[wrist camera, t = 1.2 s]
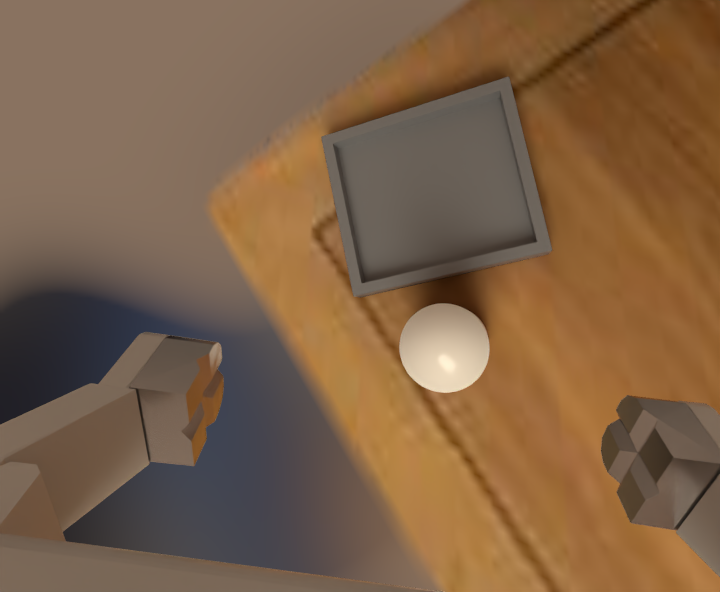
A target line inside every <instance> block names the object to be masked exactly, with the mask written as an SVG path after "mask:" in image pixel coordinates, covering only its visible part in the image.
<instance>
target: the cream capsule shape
mask: <svg viewBox="0 0 720 592" xmlns="http://www.w3.org/2000/svg"><path fill="white" fill-rule="evenodd" d="M400 356H401V360H402V363H403V365H404V367H405V369H406V371H407V372H408V374H409V375H410V376H411V377H412V378H413V379H414V380H415V381H416V382H417V383H418V384H420V385H421V386H423V387H425V388H427V389H429V390H432V391H436V392H445V393H448V392H455V391H459V390H462V389H464V388H466V387H468V386H470V385H471V384H472V383H474V382H475V381H476V380H477V379H478V378H479V377H480V375H481V374H482V373H483V371H484V369H485V367H486V365H487V362H488V358H489V340H488V334H487V331H486V328H485V326H484V324H483V323H482V321H481V320H480V319H479V318H478V317H477V316H476V315H475V314H473V313H472V312H470V311H468V310H466V309H464V308H462V307H460V306H457V305H453V304H447V303H440V304H433V305H430V306H427V307H425V308H423V309H421V310H419V311H418V312H416V313H415V314H414V315H413V316H412V317H411V318H410V319H409V320H408V322H407V323H406V325H405V327H404V329H403V331H402V334H401V338H400Z"/></svg>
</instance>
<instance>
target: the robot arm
mask: <svg viewBox="0 0 720 592" xmlns="http://www.w3.org/2000/svg"><path fill="white" fill-rule="evenodd" d="M221 360H222V352H221V345H220V344H219V343H218V342H211V341H204V340H198V339H192V338H185V337H179V336H172V335H170V336H168V335H162V334H156V333H149V332H145V333H142V334H140V335H138V337H137V338H136V339H135V340H134V341H133V343H132V344H131V345H130V346H129V348H128V349H127V350H126V351H125V352H124V354H123V355H122V356H121V357H120V359H119V360H118V361H117V362H116V363H115V365H114V366H113V367H112V368H111V370H110V371H109V372H108V373H107V374H106V375H105V377H104V378H103V379H102V380H101V382H100V383H99V384H88V385H86V386H84V387H82V388H79V389H77V390H75V391H73V392H71V393H68V394H66V395H64V396H62V397H60V398H58V399H55V400H53V401H51V402H49V403H47V404H45V405H42V406H40V407H38V408H36V409H34V410H32V411H29V412H27V413H25V414H23V415H21V416H19V417H16V418H14V419H12V420H10V421H8V422H5V423H3V424H1V425H0V592H442V591H434V590H427V589H419V588H411V587H404V586H396V585H389V584H381V583H373V582H367V581H359V580H352V579H344V578H337V577H329V576H321V575H314V574H306V573H299V572H291V571H284V570H276V569H268V568H261V567H253V566H246V565H239V564H231V563H223V562H215V561H208V560H200V559H193V558H186V557H178V556H170V555H163V554H156V553H148V552H140V551H132V550H125V549H118V548H110V547H103V546H95V545H88V544H80V543H73V542H66V540H65V538H64V535H63V531H64V530H65V529H67V528H68V527H69V526H70V525H72V524H73V523H74V522H75V521H77V520H78V519H79V518H81V517H82V516H83V515H84V514H86V513H87V512H88V511H90V510H91V509H92V508H93V507H95V506H96V505H97V504H99V503H100V502H101V501H102V500H104V499H105V498H106V497H107V496H109V495H110V494H111V493H113V492H114V491H115V490H117V489H118V488H119V487H120V486H122V485H123V484H124V483H126V482H127V481H128V480H129V479H131V478H132V477H133V476H134V475H136V474H137V473H138V472H139V471H141V470H142V469H143V468H145V467H146V466H147V465H148V464H149V461H151V462H161V463H171V464H180V465H191V466H194V465H195V463H196V460H197V458H198V456H199V454H200V452H201V450H202V448H203V445H204V443H205V441H206V439H207V438H206V427H207V426H208V425H210V424H211V423H213V422H214V421H215V419H216V417H217V414H218V412H219V409H220V405H221V401H222V397H223V387H224V384H223V375H222V374H221V373H220V372H219V371H218V369H217V368H218V366H219V364H220V362H221ZM616 411H617V413H618V416H619V419H618V420H616V421H615V422H613V423H611V424H610V425H608V426H607V428H606V430H605V433H604V435H603V437H602V445H601V454H602V459H603V463H604V465H605V467H606V470H607V472H608V473H609V474H610V475H611V476H612V477H613V478H614V479H616V480H617V481H618V482H619V483H620V485H619V487H618V490H617V494H618V496H619V499H620V501H621V503H622V505H623V507H624V509H625V512H626V514H627V516H628V518H629V520H630V522H631V523H633V524H640V525H646V526H652V527H659V528H665V529H671V530H677V531H676V533H677V534H678V535H679V536H680V537H681V538H682V539H683V540H684V541H685V542H686V543H687V544H688V545H689V546H690V547H691V548H692V549H693V550H694V551H695V553H696V554H697V555H698V556H699V557H700V558H701V559H702V560H703V561H704V562H705V563H706V564H707V565H708V566H709V567H710V568H711V569H712V570H713V571H714V572H715V573H716V574H717V575H718V576H719V577H720V415H719V414H718V413H717V412H716V410H715V409H714V408H712V407H710V406H709V405H707V404H704V403H694V402H685V401H678V402H677V401H670V400H662V399H654V398H646V397H637V396H629V395H627V396H626V397H625V398H624V399H622V400H621V402H620V403H619V405H618V407H617V409H616Z"/></svg>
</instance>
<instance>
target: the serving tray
mask: <svg viewBox="0 0 720 592" xmlns="http://www.w3.org/2000/svg"><path fill="white" fill-rule="evenodd" d="M321 138H322V143H323V148H324V153H325V158H326V163H327V168H328V173H329V178H330V182H331V187H332V192H333V197H334V202H335V207H336V212H337V217H338V222H339V227H340V232H341V237H342V242H343V246H344V251H345V256H346V261H347V266H348V271H349V276H350V281H351V286H352V291H353V296H355V297H364V296H369V295H373V294H377V293H382V292H386V291H390V290H395V289H399V288H403V287H408V286H412V285H416V284H421V283H425V282H429V281H434V280H438V279H443V278H447V277H451V276H456V275H460V274H464V273H469V272H473V271H477V270H482V269H486V268H490V267H495V266H499V265H503V264H508V263H512V262H517V261H521V260H525V259H530V258H534V257H538V256H543V255H547V254H549V253H550V252H551V251H552V247H551V243H550V239H549V235H548V231H547V227H546V223H545V219H544V215H543V211H542V207H541V203H540V199H539V195H538V191H537V187H536V183H535V179H534V175H533V171H532V167H531V163H530V159H529V155H528V151H527V147H526V143H525V139H524V135H523V131H522V127H521V123H520V119H519V115H518V111H517V107H516V103H515V99H514V94H513V90H512V86H511V82H510V78H509V77H506V78H503V79H500V80H496V81H493V82H490V83H487V84H484V85H481V86H478V87H475V88H472V89H468V90H465V91H462V92H459V93H456V94H453V95H450V96H447V97H444V98H440V99H437V100H434V101H431V102H428V103H425V104H422V105H419V106H416V107H413V108H409V109H406V110H403V111H400V112H397V113H394V114H391V115H388V116H385V117H381V118H378V119H375V120H372V121H369V122H366V123H363V124H360V125H357V126H353V127H350V128H347V129H344V130H341V131H338V132H335V133H332V134H329V135H325V136H322V137H321Z"/></svg>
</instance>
